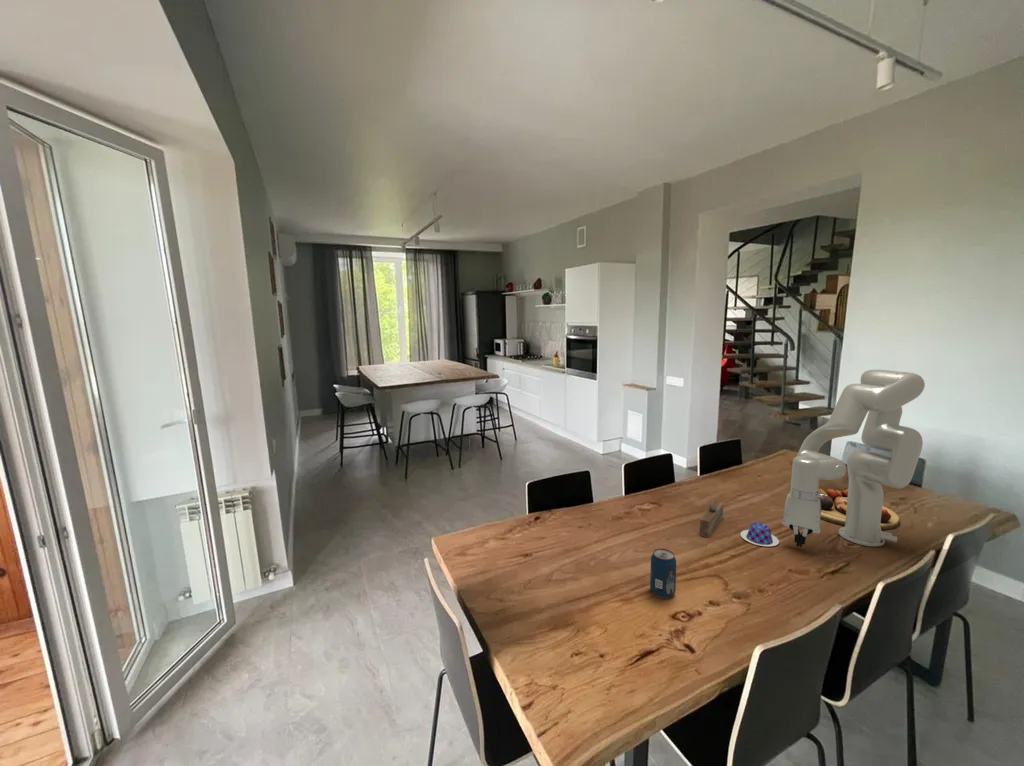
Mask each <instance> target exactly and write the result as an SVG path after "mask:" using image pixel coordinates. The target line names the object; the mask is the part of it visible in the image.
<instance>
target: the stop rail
mask: <svg viewBox="0 0 1024 766" xmlns="http://www.w3.org/2000/svg"><path fill="white" fill-rule="evenodd" d="M723 517H724V502H720V501H714V502H713V504H709V505H708V510H707V511H706V512H705V513H704V514H703V516H702V517H701V518H700V521H699V536H703V537H704V538H705V537H706V538H710V536H711V535H712V534H713V532H714V530H715V529H716V528H717V527H718V525H719V523H720V522H721V521H722V519H723Z"/></svg>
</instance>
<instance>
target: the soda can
mask: <svg viewBox="0 0 1024 766" xmlns="http://www.w3.org/2000/svg"><path fill="white" fill-rule="evenodd" d="M650 556H651V557H650V581H649V582H650V583H649V587H650V590H651V591H652V593H653V594H654V595H655V596H656V597H658V598H661V599H670V598H672V597H673V596H674V594H675V593H676V590H677V589H676V587H677V586H676V585H677V559H676V556H675V554H674V552H672V551H671V550H669V549H666V548H657V549H654V550H653V553H652V555H650Z"/></svg>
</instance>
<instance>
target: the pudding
mask: <svg viewBox="0 0 1024 766" xmlns="http://www.w3.org/2000/svg"><path fill="white" fill-rule="evenodd" d="M740 537H741V539H743V540H745V541H747V542H748V543H750V544H752V545H756V546H761V547H775V546H777V545H779V544H780V540H779V539H778V537H776V535H773V534H772V531H771V529H770V527H769V526H768V525H767V524H764V523H762V522H753V523H751V524H750V526H749V528H748V529H745V530H742V531H740Z"/></svg>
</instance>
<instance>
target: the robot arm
mask: <svg viewBox="0 0 1024 766" xmlns="http://www.w3.org/2000/svg"><path fill="white" fill-rule="evenodd" d="M925 385H926V384H925V380H924V378H923V377H922V376H921V375H919V374H917V373H914V372H910V371H909V372H907V371H897V370H896V371H895V370H889V369H868V370H864V372H863V373H862V374H861V376H860V383H849V384H848V385H846V386H845V387H844V388H843V390H842V392H841V394H840V396H839V397H838V400H837V403H836V405H835V406H834V407H833V411H832V413H831V415H830V416H829V419H828V421H827V422H826V423H824V424H823V425H821V426H820V427H818V428H816V429H815V430H814V431H812V432H811V433H810V434H808V435H807V436H806V437H805V439H803V442H802V443H801V446H800V448H799V450H798V452H797V455H796V456H795V457H793V459H792V465H791V477H790V478H791V479H790V480H791V481H790V492H789V493H787V494H786V495H787V496H786V499H785V503H784V510H783V520H782V522H781V525H783V526H785V527H788V528H789V529H790V530H791V531H792V532H793V534H794V539H793V542H794V543H795V546H796V547H800V548H803V545H804V546H805V545H806V539H807V538H806V537H807V536H809V535H811V534H821V531H822V530H821V527H820V526H821V521H822V519H821V503H820V499H818V498H823V494H821V493H819V492H818V489H819V484H820V480H822V481H823V480H825V481H837V480H840V479H842V478H844V477H845V476H846V473H847V474H848V488H847V489H848V498H847V508H846V519H845V525H844V526H841V527H840V528H839V529H838V535H840V536H841V537H842V538H843V539H845V540H847V541H849V542H851V543H855V544H857V545H861V546H865V547H874V548H877V547H882V546H884V545H885V542H886V541H889V542H893V543H898V536H896V535H895V536H894V535H893V533H890V532H885V531H884V530H882V529H881V527H880V524H881V514H882V506H884V504H883V503H884V491H883V486H886V487H889V488H893V489H904V488H906V487H907V486H908V485H909V484H910V483H911V481H912V479H913V476H914V473H915V472H916V471H915V470H916V468H917V465H918V463H919V462H918V461H919V458H920V456H921V453H922V450H923V437H922V435H921V433H920V432H919V431H918V430H916V429H914V428H912V427H908V426H903V425H900V423H901V418H902V415H903V406H905V405H907V404H909V403H910V402H912V401H914V400H915V399H917V398H919V396H921V395H922V393H923V391H924V390H925ZM866 416H867V417H866ZM865 418H866V420H865ZM864 421H865V422H864ZM863 422H864V423H863ZM863 424H864V427H863V430H862V432H861V438H860V439H861V442H862V444H864V445H865V446H867V447H869V448H872V449H875V450H879V451H883V452H887V453H890V454H891V456H887V455H884V454H880V453H877V452H874V451H869V450H864V449H863V450H861V449H860V450H855V451H853V452H851V453H850V454H849V455H848V457H847V460H846V464H845V462H844V461H842V460H841V459H839V458H837V457H834V456H831V455H828V454H824V453H821V452H819V450H820V449H821V447H822V446H823V445H824V444H825V443H827V442H828V441H831V440H833V439H838V438H843V437H849V436H853V435H856V434H858V433H859V432H860V429H861V427H862V425H863ZM882 485H883V486H882ZM799 527H800V528H803V531H801V532H800V528H799Z"/></svg>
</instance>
